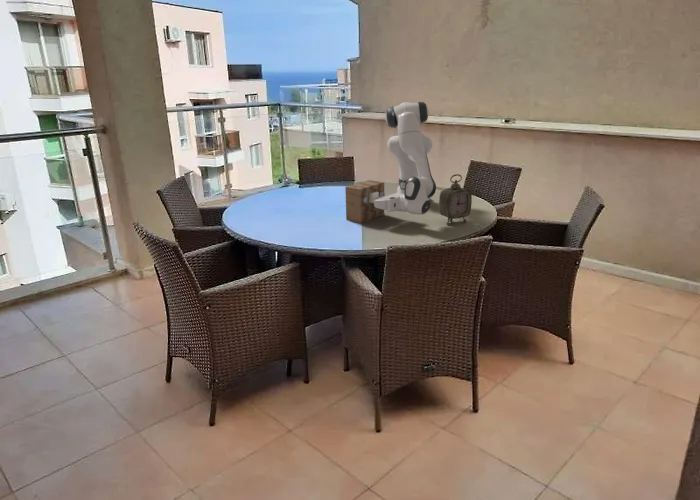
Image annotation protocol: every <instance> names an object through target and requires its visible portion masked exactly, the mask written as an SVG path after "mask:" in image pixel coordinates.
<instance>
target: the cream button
mask: <svg viewBox="0 0 700 500" xmlns="http://www.w3.org/2000/svg"><path fill="white" fill-rule="evenodd" d="M377 197H379V192H376V191H373V192H369V203H374V200H376V199H377Z"/></svg>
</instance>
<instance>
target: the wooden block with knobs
mask: <svg viewBox="0 0 700 500" xmlns="http://www.w3.org/2000/svg"><path fill="white" fill-rule="evenodd" d="M373 191H376V192H379V196H386V194H385V182H384V181H379V180H373V179H368V180H365V181H362V182H361V181H360V182H358V183H354V184H350V185H347V186H345V212H346V213H345V215H346V217H345V218H346V221H350V222H354V223H359V224H363V223H365V222H369V221H371V220H373V219H376V218H379V217H382V216H384V215H385V210H383V209H379V208H376V207H374V203H369V192H373Z"/></svg>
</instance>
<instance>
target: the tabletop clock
mask: <svg viewBox="0 0 700 500" xmlns="http://www.w3.org/2000/svg"><path fill="white" fill-rule="evenodd" d="M453 177H460V179H459V180H457V179H454V181H453V180H452V179H453ZM462 179H463V177H462V175H461V174H453V175H452V176H451V177H450V179H449V180H450V183H452V184H451V186H450V187H447V188H444V189H443V190H440V193H439V197H438V198H439V200H438V209H439V214H440V215H441V216H444V217H445V218H447V222H446V224H445V225H446V226H450V222H453V221H454V220H456V219H457V220H458V219H462V220H463V223H467V221H468V219H466V218H465V217H468V216H469V215H470V214H471V210H472V203H473V202H472V199H473V197H472V196H473V195H472V190H470V189H466V188H463V187H461V184H460V182H462Z"/></svg>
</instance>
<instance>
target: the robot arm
mask: <svg viewBox="0 0 700 500" xmlns="http://www.w3.org/2000/svg"><path fill="white" fill-rule="evenodd" d="M429 114H430V111H429V108H428V106H427V104H426V103H425V102H423V101H418V102H408V101H404V102H402V103H400V104H398V105H395V106H390V107H388V108H387V109H386V111H385V115H384V118H385V119H384V120H385V122H386V124H387V126H388V127H389V128H391V129H392V128H393V129H396V128H397V134H398V135H393V136H390V137H389V138H388V140H387V143H386V144H387V145H386V147H387V150H388V152H389V153H390V154H391V155H392V156H394V158H395V160H396V161H397V163H398V169H399V178H398V186H397V189H396V192H395V193H391V194H388V195H385V196H379V197H377V199H376V200H374V207H376V208H379V209H383V210H384V211H387V212H388V213H389V212H390V213H393V212H402V213H408V214H411V215H418V216H419V215H425V214H426V213H427V212H428V211H429V210H430V207H431V198H432V197H433V196H434V195H435V193H436V190H437V184H436V181H435V180H434V178H433V177H432V173H431V168H430V163H429V159H428V155H429V154H430V153H431V151H432V150H433V140H432V138H431V137H430V136H427V135H425V134H424V133H423V132H422V131H421V126H420V124H423V123H426V122H427V121H428V118H429V116H430V115H429ZM411 158H412V159H411Z"/></svg>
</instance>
